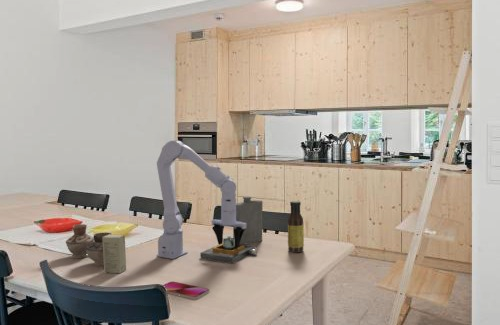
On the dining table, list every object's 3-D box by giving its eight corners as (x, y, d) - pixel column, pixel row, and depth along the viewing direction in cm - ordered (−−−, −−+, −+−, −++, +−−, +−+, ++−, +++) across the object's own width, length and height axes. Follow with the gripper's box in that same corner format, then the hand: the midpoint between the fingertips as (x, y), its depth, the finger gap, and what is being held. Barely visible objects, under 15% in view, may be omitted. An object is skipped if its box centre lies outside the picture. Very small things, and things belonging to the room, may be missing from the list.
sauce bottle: (306, 251, 161) (307, 202, 160) (294, 254, 158) (295, 203, 156) (296, 247, 167) (296, 199, 165) (284, 250, 163) (284, 201, 162)
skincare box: (126, 269, 139) (126, 234, 138) (120, 273, 135) (119, 237, 134) (109, 268, 140) (108, 233, 139) (102, 272, 136) (101, 236, 135)
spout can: (231, 256, 154) (231, 238, 154) (221, 255, 156) (221, 237, 156) (236, 253, 158) (236, 235, 158) (226, 252, 160) (226, 234, 160)
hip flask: (236, 247, 168) (236, 199, 166) (230, 245, 171) (230, 198, 169) (263, 240, 179) (263, 195, 177) (257, 238, 182) (257, 194, 180)
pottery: (85, 251, 162) (85, 221, 161) (126, 262, 147) (125, 230, 146) (58, 258, 152) (57, 226, 152) (98, 270, 138) (97, 236, 137)
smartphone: (171, 280, 127) (210, 289, 120) (171, 283, 127) (211, 292, 120) (155, 288, 121) (195, 297, 113) (155, 291, 121) (195, 301, 113)
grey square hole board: (239, 264, 144) (239, 256, 144) (200, 258, 152) (200, 250, 152) (262, 252, 160) (262, 244, 160) (225, 246, 168) (225, 239, 168)
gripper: (250, 210, 156) (250, 245, 157) (218, 207, 163) (218, 240, 164) (241, 213, 150) (241, 249, 151) (208, 209, 157) (208, 244, 157)
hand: (228, 245), depth 157 cm, fingers open, 7 cm apart
